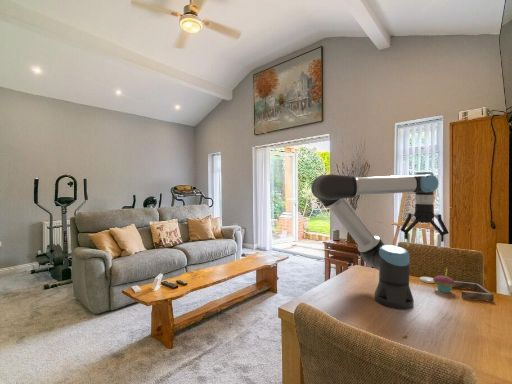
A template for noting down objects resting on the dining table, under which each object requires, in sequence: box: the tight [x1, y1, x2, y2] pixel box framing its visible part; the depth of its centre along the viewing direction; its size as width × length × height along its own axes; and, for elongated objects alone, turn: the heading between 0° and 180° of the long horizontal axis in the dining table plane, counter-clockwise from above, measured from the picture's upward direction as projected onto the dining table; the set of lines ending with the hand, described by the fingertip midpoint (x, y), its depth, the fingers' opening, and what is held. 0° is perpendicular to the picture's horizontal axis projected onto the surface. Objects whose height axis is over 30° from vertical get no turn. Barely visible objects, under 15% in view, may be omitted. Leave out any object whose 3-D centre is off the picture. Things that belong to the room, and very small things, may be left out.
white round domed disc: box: [419, 276, 436, 284], centre depth 139 cm, size 8×8×1 cm
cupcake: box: [432, 268, 455, 294], centre depth 125 cm, size 9×8×12 cm
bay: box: [453, 280, 495, 302], centre depth 122 cm, size 11×14×3 cm
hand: (423, 247), depth 128 cm, fingers open, 12 cm apart
